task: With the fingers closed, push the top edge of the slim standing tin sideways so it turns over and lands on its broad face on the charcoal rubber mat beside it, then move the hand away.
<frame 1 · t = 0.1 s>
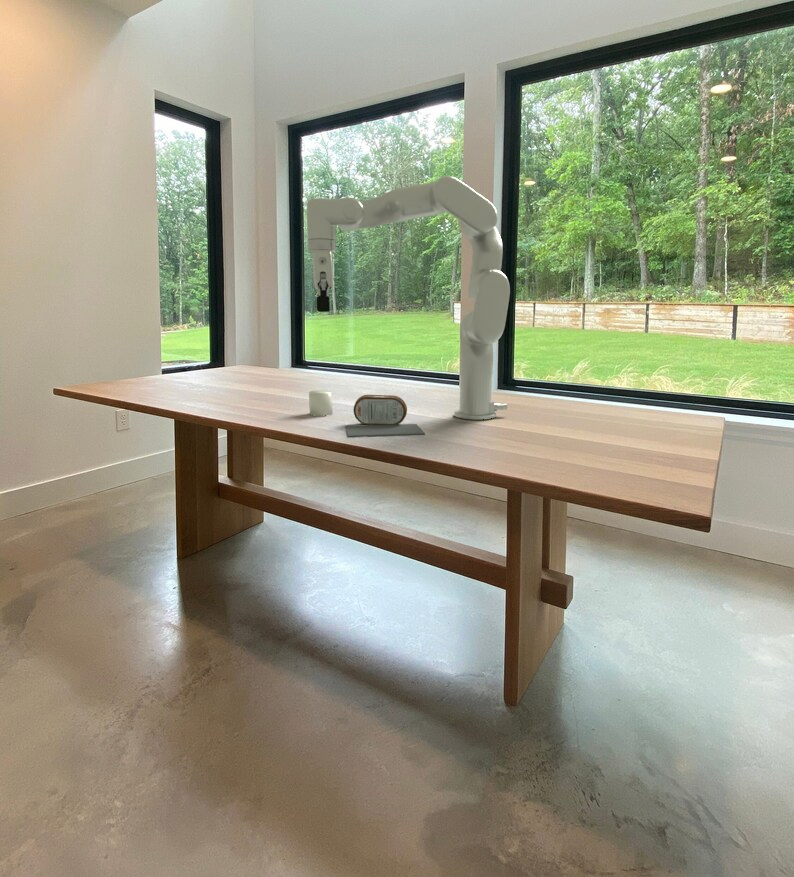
hand: (323, 311, 165), 31 cm above the table, tool pointing down, fingers open, 9 cm apart
tin: (380, 425, 167), on the table
mat: (384, 430, 158), on the table
white rounded cube: (321, 414, 182), on the table
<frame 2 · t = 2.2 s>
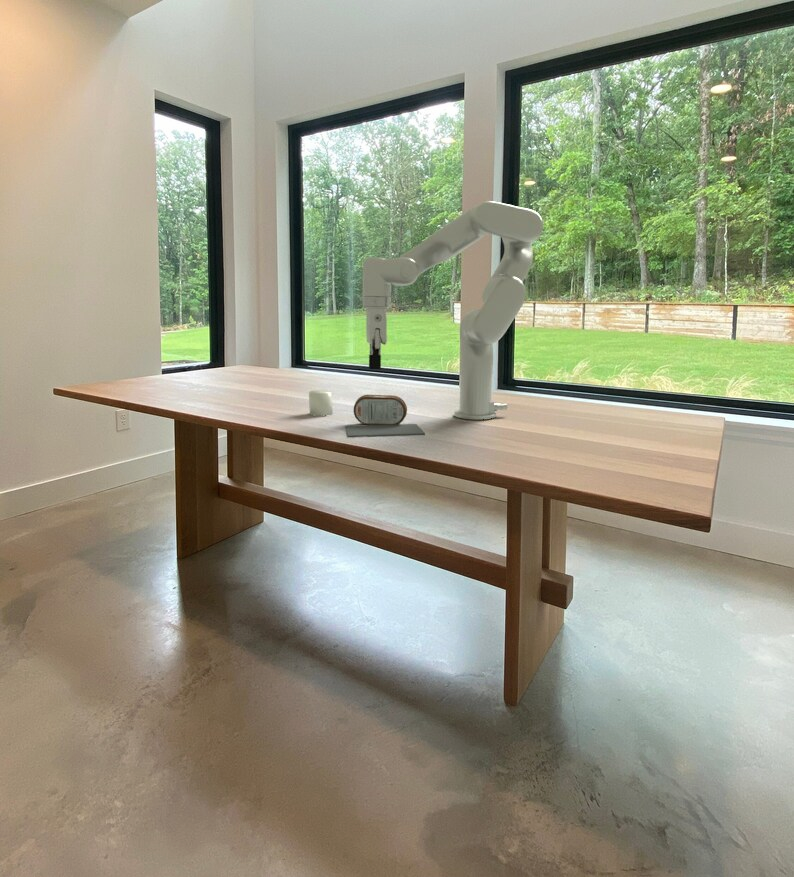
hand: (374, 368, 170), 15 cm above the table, tool pointing down, fingers closed
nothing on the table moved.
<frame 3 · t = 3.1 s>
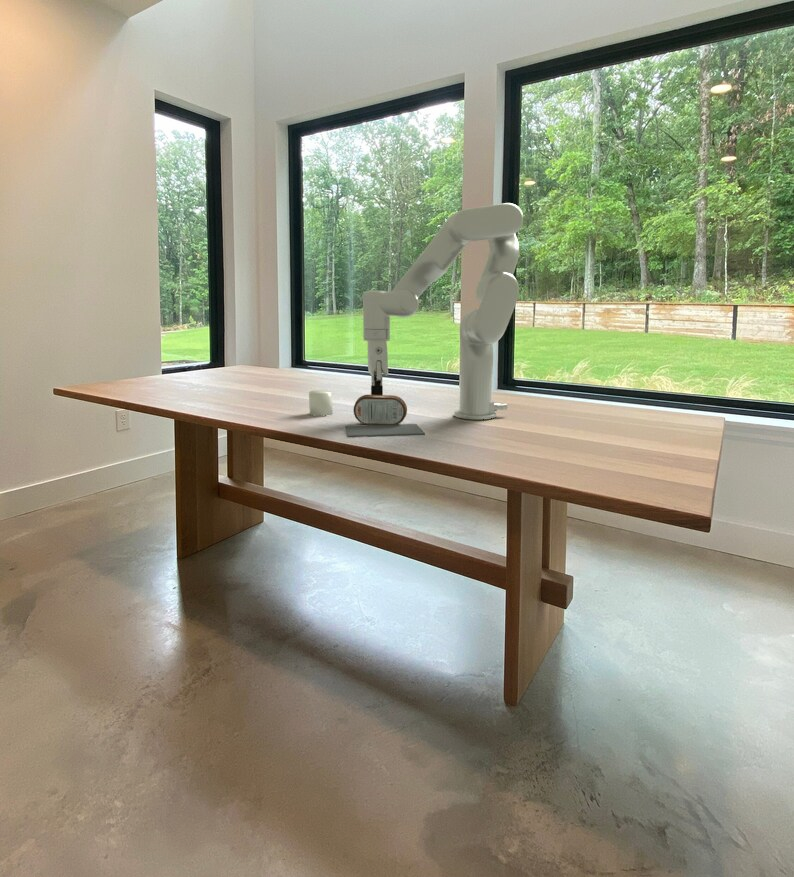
hand: (376, 399, 172), 6 cm above the table, tool pointing down, fingers closed
nothing on the table moved.
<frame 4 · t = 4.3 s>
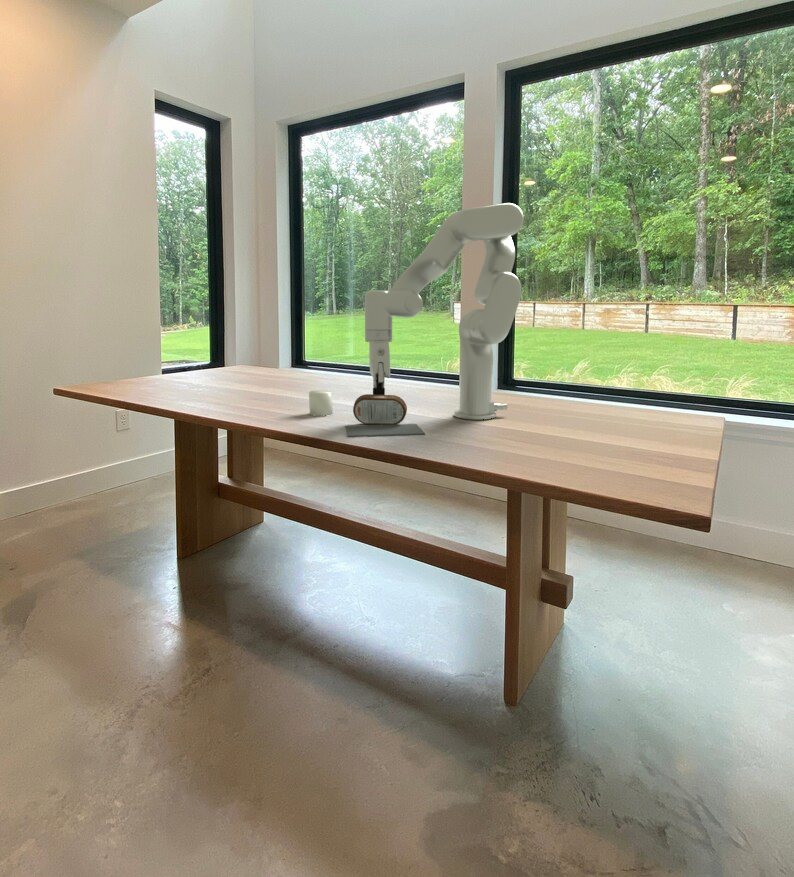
hand: (378, 401, 167), 6 cm above the table, tool pointing down, fingers closed
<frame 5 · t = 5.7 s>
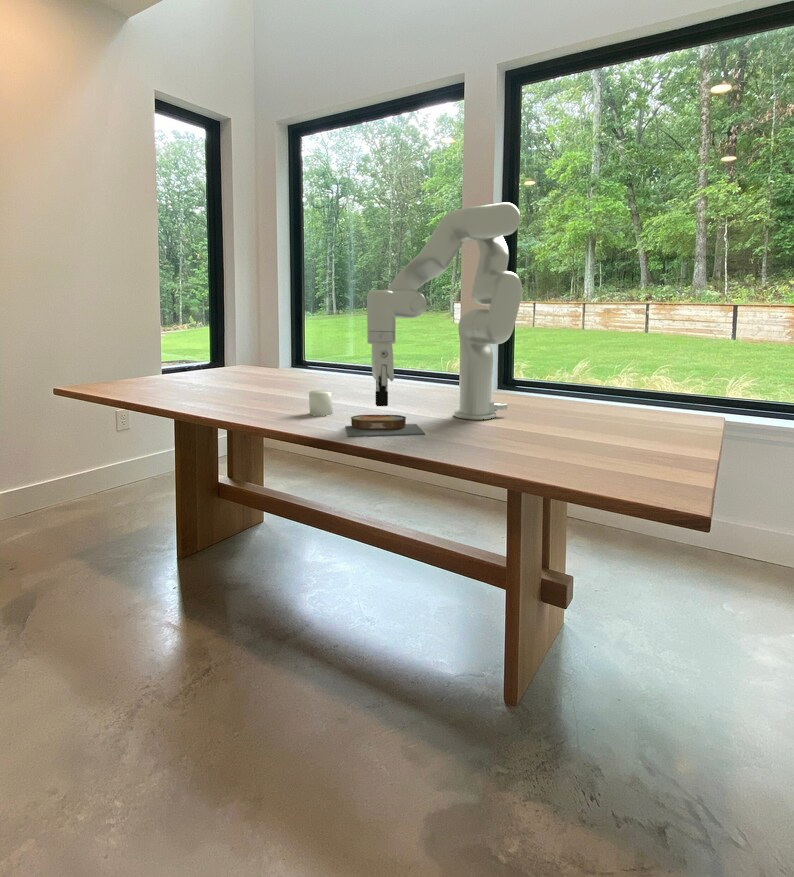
hand: (381, 405, 161), 6 cm above the table, tool pointing down, fingers closed
tin: (379, 420, 166), point 1 cm above the table, touching mat
everything else where it was.
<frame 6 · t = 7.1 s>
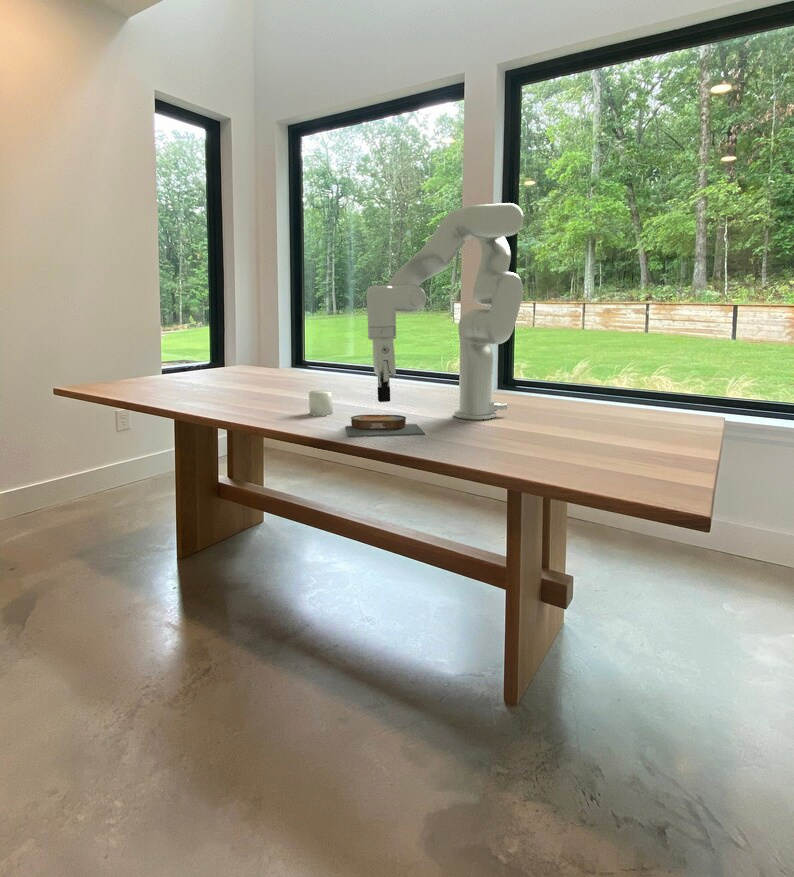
hand: (384, 401, 161), 7 cm above the table, tool pointing down, fingers closed
nothing on the table moved.
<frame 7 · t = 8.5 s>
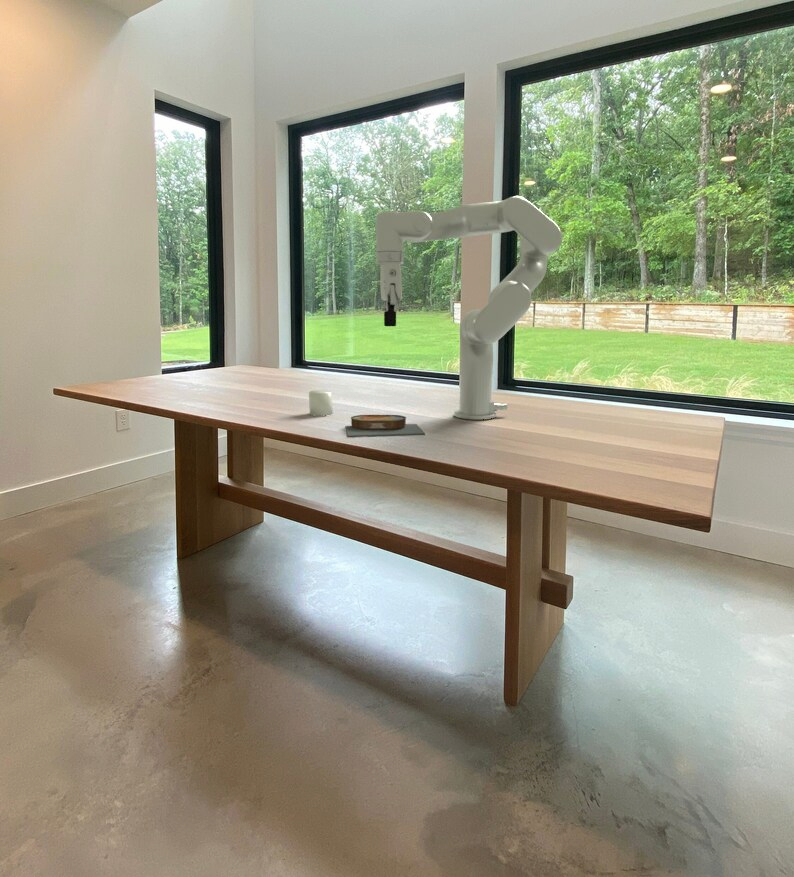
hand: (390, 326, 169), 27 cm above the table, tool pointing down, fingers closed
nothing on the table moved.
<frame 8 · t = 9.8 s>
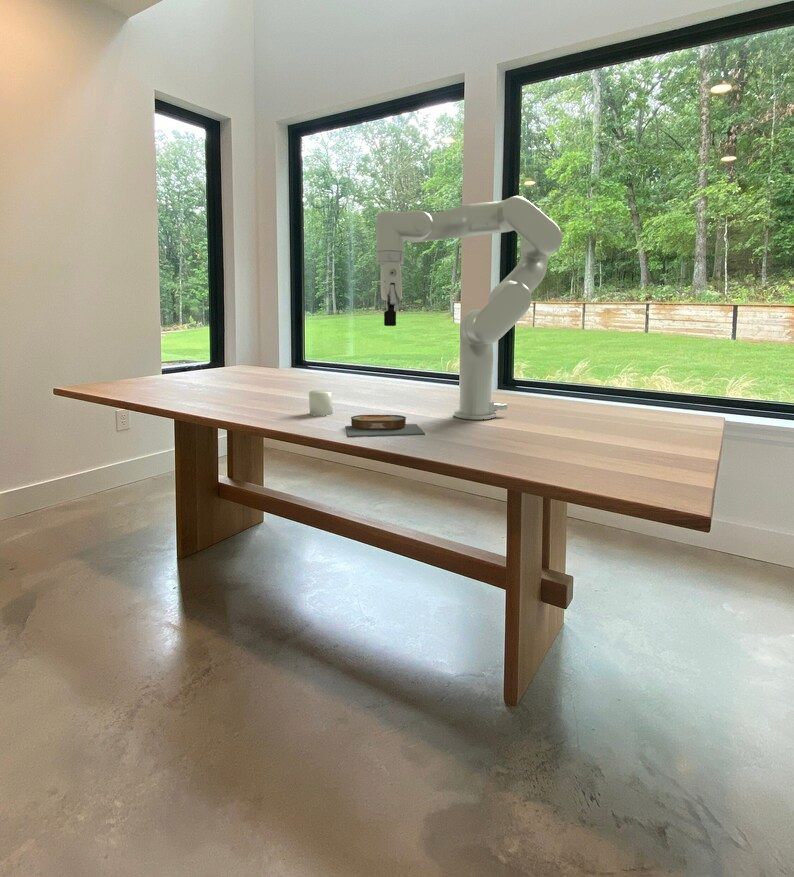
hand: (390, 325, 169), 27 cm above the table, tool pointing down, fingers closed
nothing on the table moved.
at the end: tin tilted 85°; tin inside the target area on the mat (7.0 cm from its centre), point 1.3 cm above the mat's base; the gripper is holding nothing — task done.
